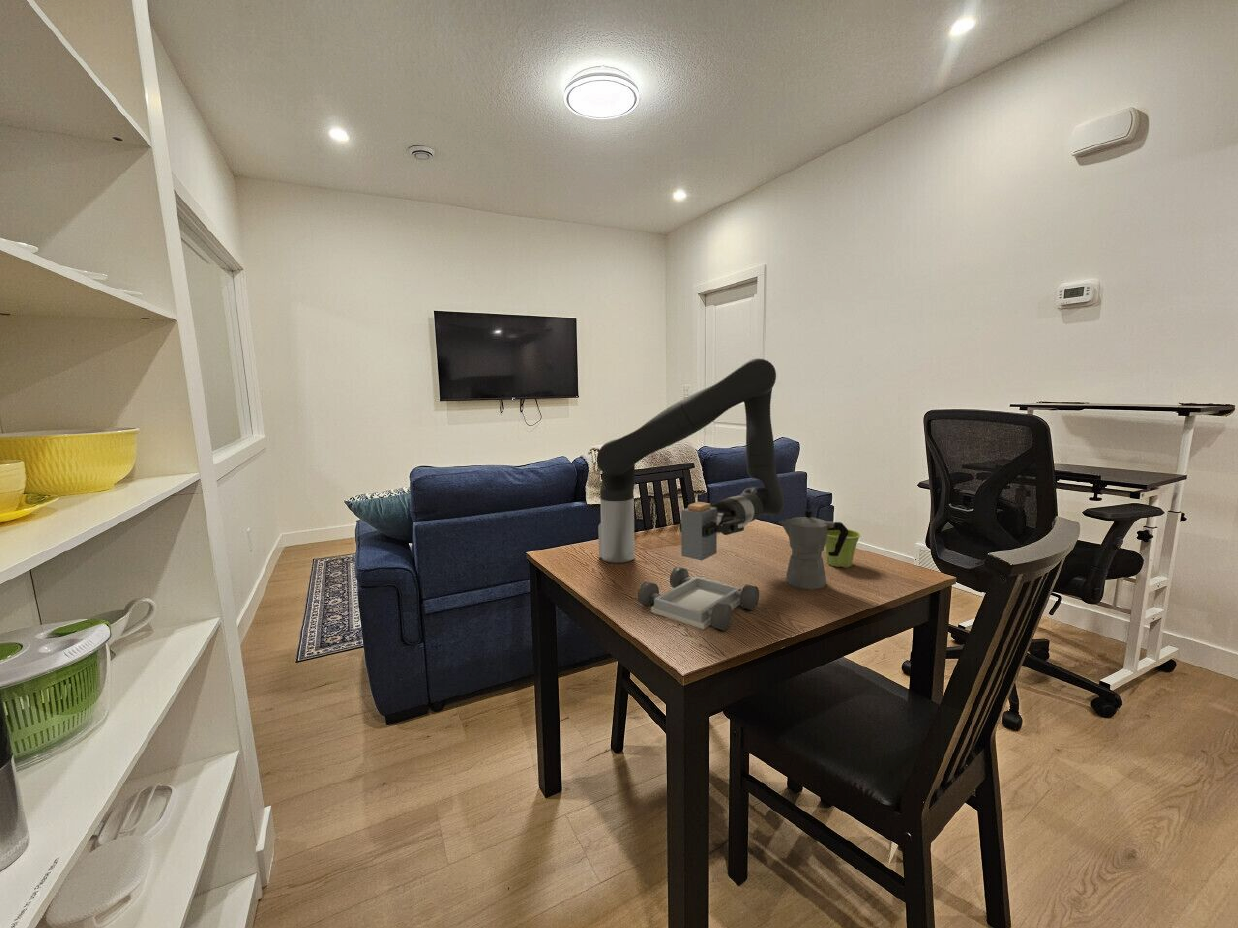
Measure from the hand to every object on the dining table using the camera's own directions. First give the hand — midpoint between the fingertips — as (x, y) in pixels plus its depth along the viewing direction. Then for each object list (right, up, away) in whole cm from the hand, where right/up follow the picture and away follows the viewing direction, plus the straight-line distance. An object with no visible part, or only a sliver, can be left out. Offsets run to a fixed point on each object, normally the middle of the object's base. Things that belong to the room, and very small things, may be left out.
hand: (692, 529), depth 107 cm
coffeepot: (+31, -15, +16) cm, 38 cm away
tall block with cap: (+2, -6, +3) cm, 7 cm away
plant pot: (+43, -13, +29) cm, 54 cm away
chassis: (+2, -17, +4) cm, 18 cm away
